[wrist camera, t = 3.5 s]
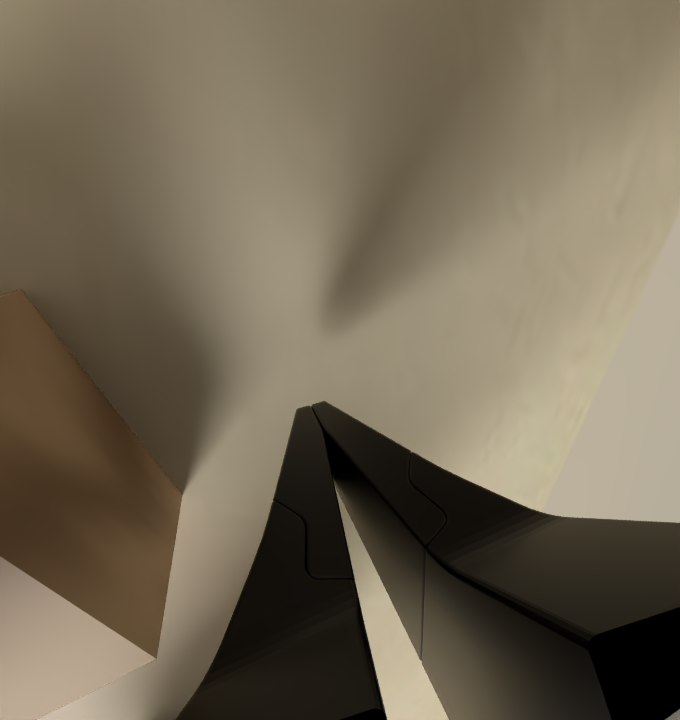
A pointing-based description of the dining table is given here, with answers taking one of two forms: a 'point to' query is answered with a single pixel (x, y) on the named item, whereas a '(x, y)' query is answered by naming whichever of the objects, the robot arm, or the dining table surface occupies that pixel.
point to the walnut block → (72, 527)
